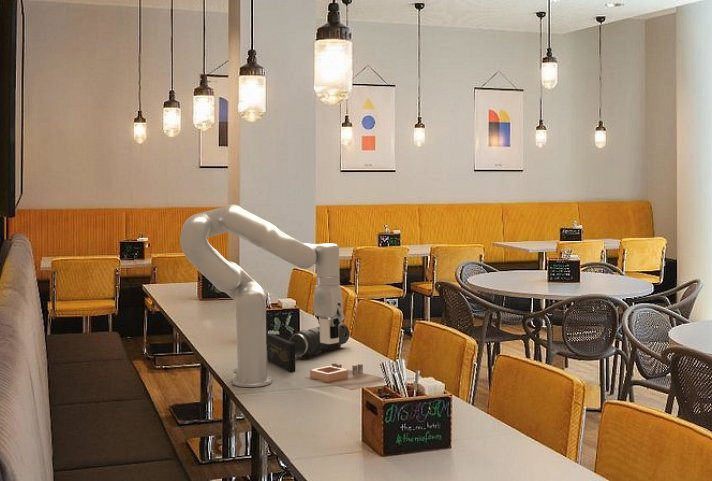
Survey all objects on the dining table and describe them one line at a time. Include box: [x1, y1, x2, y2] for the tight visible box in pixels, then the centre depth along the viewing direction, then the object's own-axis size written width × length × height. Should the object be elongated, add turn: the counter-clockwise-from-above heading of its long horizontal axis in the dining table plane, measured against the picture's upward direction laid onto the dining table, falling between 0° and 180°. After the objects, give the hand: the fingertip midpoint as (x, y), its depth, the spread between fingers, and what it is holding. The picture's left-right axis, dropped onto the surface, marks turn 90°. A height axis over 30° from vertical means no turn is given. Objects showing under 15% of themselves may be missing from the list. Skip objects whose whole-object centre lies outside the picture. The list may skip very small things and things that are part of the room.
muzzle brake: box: [288, 321, 350, 358], centre depth 335 cm, size 10×28×10 cm, turn 148°
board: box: [304, 362, 386, 391], centre depth 290 cm, size 23×18×4 cm
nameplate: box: [266, 333, 296, 373], centre depth 313 cm, size 21×2×10 cm, turn 28°
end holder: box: [309, 365, 349, 382], centre depth 292 cm, size 9×9×2 cm
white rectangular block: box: [319, 317, 339, 344], centre depth 291 cm, size 4×4×8 cm
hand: (329, 336), depth 291 cm, fingers closed on white rectangular block, 4 cm apart
